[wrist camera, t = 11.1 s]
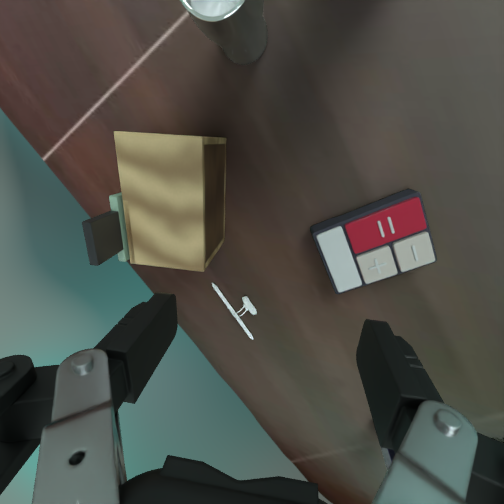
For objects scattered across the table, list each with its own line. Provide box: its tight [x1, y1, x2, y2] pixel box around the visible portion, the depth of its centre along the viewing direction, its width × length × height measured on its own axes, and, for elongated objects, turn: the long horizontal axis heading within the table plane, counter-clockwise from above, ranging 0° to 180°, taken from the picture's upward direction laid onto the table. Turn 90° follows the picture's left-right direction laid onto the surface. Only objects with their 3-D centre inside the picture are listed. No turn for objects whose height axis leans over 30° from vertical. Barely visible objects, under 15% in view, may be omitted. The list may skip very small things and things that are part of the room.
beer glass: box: [180, 0, 268, 65], centre depth 27 cm, size 7×7×15 cm
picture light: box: [212, 283, 257, 340], centre depth 49 cm, size 14×4×2 cm, turn 33°
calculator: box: [310, 189, 437, 294], centre depth 40 cm, size 11×4×15 cm
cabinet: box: [114, 131, 226, 272], centre depth 38 cm, size 16×12×12 cm
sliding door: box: [82, 192, 130, 266], centre depth 36 cm, size 8×1×16 cm, turn 177°
